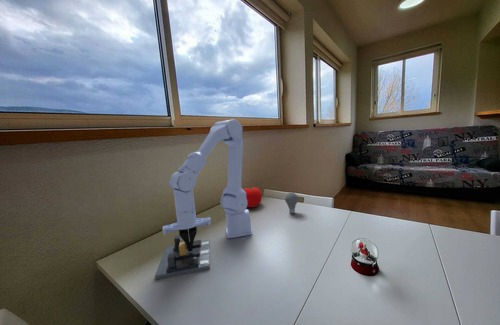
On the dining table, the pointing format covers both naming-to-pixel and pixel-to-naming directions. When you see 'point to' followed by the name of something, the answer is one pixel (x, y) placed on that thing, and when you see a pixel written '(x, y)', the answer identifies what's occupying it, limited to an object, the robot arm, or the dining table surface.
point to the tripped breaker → (182, 248)
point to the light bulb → (291, 201)
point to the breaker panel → (184, 259)
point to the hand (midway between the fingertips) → (190, 249)
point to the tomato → (253, 196)
